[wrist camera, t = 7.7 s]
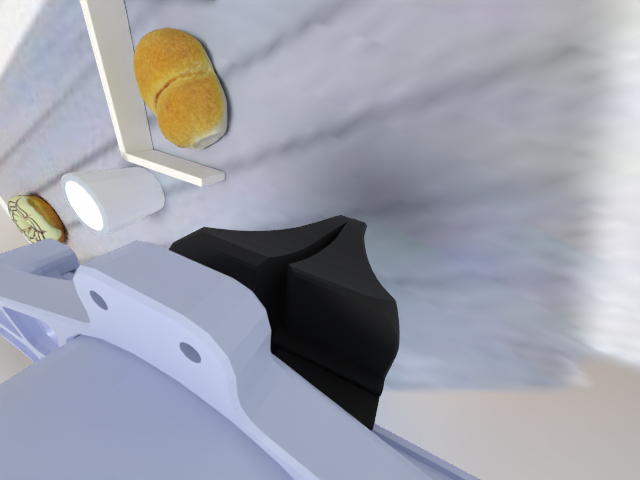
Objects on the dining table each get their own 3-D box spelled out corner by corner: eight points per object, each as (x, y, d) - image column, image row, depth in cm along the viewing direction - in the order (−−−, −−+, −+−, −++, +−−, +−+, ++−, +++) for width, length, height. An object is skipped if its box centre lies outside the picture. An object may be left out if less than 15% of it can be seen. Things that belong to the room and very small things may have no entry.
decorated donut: (75, 231, 45) (49, 240, 42) (64, 249, 51) (40, 258, 48) (33, 182, 43) (2, 187, 40) (27, 207, 49) (-1, 213, 46)
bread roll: (192, 10, 19) (143, -11, 16) (245, 124, 22) (212, 126, 19) (143, 68, 23) (97, 61, 20) (193, 158, 26) (158, 165, 23)
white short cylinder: (152, 221, 34) (95, 243, 28) (120, 175, 32) (52, 189, 26) (177, 204, 30) (116, 226, 24) (142, 151, 28) (68, 161, 23)
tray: (224, 179, 25) (202, 187, 23) (149, 155, 28) (122, 159, 26) (214, -15, 18) (179, -35, 15) (112, -22, 20) (69, -40, 18)
